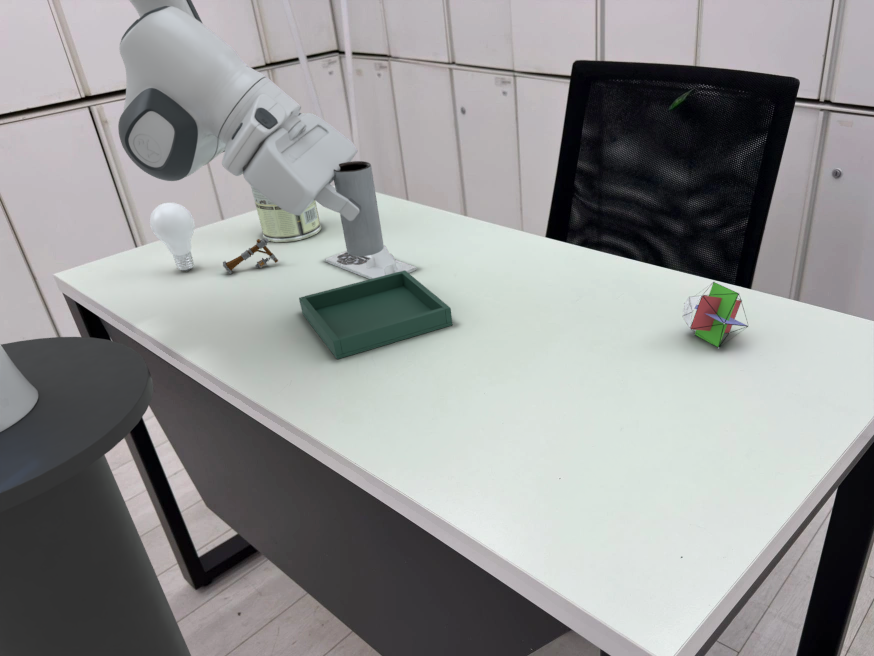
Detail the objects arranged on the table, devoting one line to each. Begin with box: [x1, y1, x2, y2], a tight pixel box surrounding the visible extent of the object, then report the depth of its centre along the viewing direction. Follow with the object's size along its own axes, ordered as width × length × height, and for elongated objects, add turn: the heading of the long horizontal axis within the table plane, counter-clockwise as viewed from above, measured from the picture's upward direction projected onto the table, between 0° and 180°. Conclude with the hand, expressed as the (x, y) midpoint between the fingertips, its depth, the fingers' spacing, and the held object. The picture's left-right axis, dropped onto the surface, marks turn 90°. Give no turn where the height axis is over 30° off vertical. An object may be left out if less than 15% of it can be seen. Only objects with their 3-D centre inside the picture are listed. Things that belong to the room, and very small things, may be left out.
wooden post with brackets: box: [222, 238, 279, 275], centre depth 118 cm, size 2×8×4 cm, turn 108°
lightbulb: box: [149, 201, 196, 272], centre depth 117 cm, size 6×6×11 cm
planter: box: [333, 160, 385, 256], centre depth 89 cm, size 4×4×10 cm
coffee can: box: [250, 185, 322, 243], centre depth 129 cm, size 10×10×14 cm
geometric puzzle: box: [682, 280, 750, 349], centre depth 87 cm, size 7×7×8 cm
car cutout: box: [324, 244, 418, 280], centre depth 115 cm, size 15×7×4 cm, turn 46°
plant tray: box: [298, 270, 453, 360], centre depth 99 cm, size 16×16×2 cm
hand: (363, 207), depth 89 cm, fingers closed on planter, 4 cm apart
